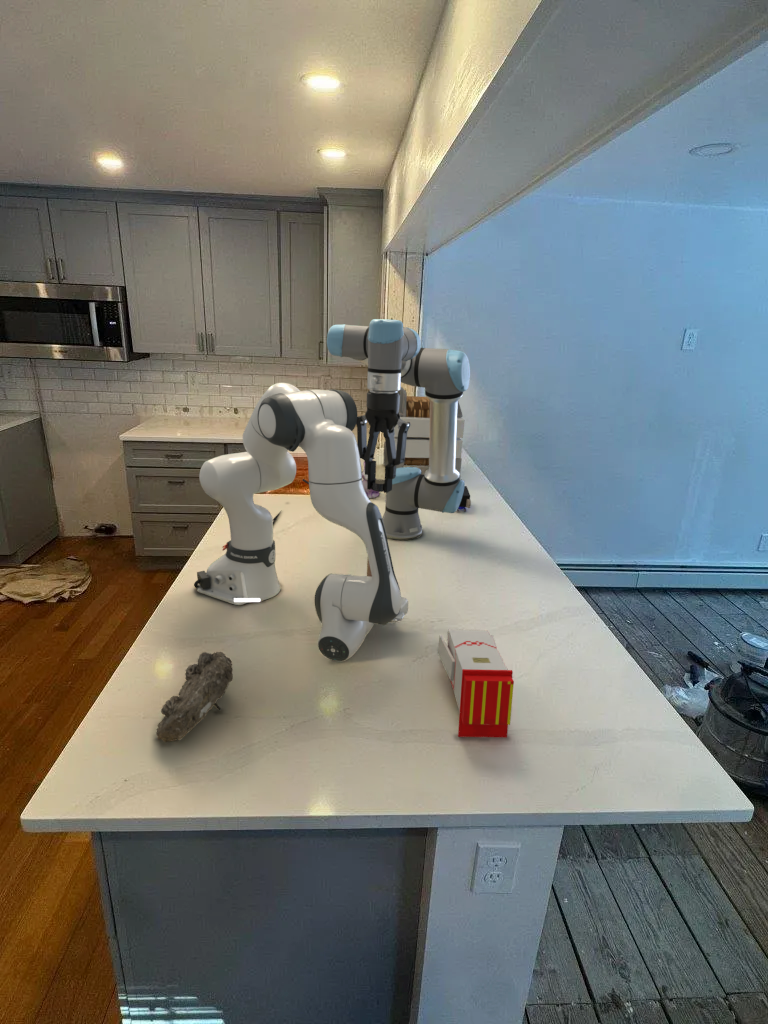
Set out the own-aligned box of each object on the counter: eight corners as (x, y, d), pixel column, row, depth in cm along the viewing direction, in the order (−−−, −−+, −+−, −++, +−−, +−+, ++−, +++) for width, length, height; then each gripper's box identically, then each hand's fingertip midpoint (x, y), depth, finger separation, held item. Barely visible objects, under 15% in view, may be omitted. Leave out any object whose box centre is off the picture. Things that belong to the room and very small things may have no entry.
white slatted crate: (382, 463, 289) (386, 382, 275) (445, 464, 293) (451, 384, 279) (390, 482, 257) (394, 392, 243) (460, 483, 261) (468, 394, 247)
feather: (288, 505, 226) (290, 501, 226) (271, 529, 199) (273, 524, 199) (284, 503, 226) (287, 499, 225) (266, 526, 199) (269, 522, 199)
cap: (381, 485, 139) (381, 478, 138) (391, 490, 136) (391, 482, 135) (368, 488, 137) (368, 480, 136) (377, 492, 134) (377, 484, 133)
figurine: (365, 500, 232) (366, 464, 227) (354, 493, 241) (355, 458, 236) (385, 497, 237) (387, 463, 231) (374, 490, 245) (375, 457, 240)
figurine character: (470, 516, 223) (465, 500, 237) (473, 499, 220) (467, 484, 233) (453, 516, 223) (449, 500, 236) (455, 498, 220) (451, 483, 233)
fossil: (183, 653, 120) (233, 621, 115) (215, 683, 122) (265, 653, 117) (132, 735, 100) (190, 701, 95) (171, 768, 103) (229, 737, 98)
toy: (488, 613, 130) (523, 677, 101) (484, 667, 133) (517, 744, 104) (435, 612, 130) (455, 676, 101) (432, 666, 133) (451, 743, 103)
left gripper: (401, 610, 130) (415, 584, 142) (318, 595, 135) (339, 571, 148) (399, 634, 132) (414, 606, 144) (318, 618, 137) (339, 592, 150)
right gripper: (342, 389, 129) (341, 487, 137) (410, 397, 122) (404, 500, 130) (358, 385, 135) (356, 480, 143) (424, 393, 128) (417, 491, 136)
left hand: (375, 588), depth 146 cm, fingers closed on bottle, 4 cm apart
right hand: (379, 489), depth 136 cm, fingers closed on cap, 4 cm apart
